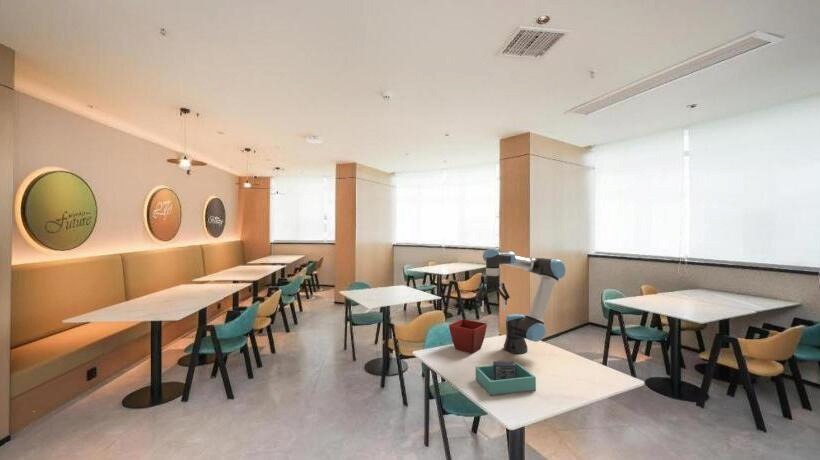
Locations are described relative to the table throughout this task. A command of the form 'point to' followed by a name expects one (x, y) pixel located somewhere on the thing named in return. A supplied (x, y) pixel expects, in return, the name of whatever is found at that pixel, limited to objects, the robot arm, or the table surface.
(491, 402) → the table surface
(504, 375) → the small box
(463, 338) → the plant pot
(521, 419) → the table surface
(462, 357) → the table surface
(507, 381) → the bin
